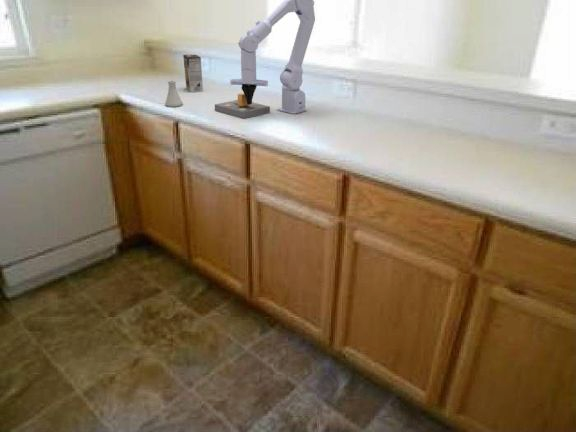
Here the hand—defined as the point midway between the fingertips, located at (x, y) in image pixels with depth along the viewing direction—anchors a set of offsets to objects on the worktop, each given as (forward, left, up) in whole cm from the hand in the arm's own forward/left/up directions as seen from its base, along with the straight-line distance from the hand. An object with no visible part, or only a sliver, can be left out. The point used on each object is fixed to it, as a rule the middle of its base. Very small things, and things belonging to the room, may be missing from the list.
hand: (249, 103), depth 178 cm
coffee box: (+53, -11, -4) cm, 54 cm away
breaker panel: (+5, 0, -4) cm, 6 cm away
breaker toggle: (+4, 0, -1) cm, 4 cm away
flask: (+33, +14, -4) cm, 36 cm away
